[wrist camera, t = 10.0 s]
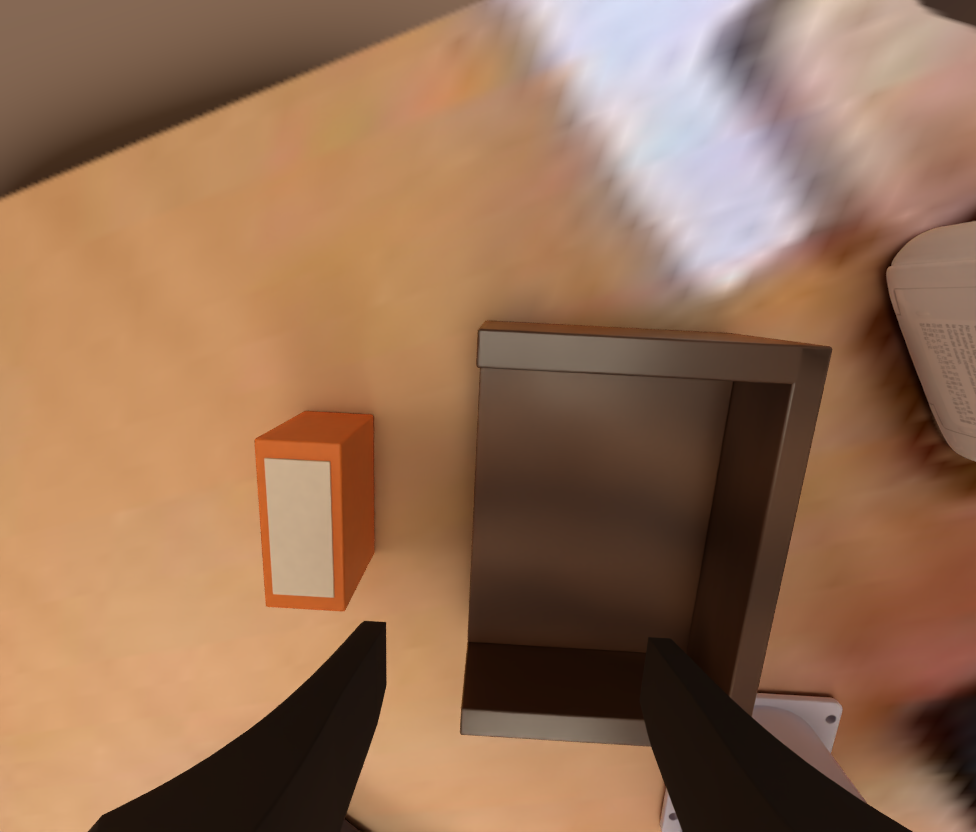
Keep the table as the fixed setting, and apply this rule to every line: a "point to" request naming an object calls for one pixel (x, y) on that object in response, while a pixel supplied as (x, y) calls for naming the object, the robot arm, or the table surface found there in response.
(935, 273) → the white piece
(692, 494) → the shelf
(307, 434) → the packet
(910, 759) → the table surface
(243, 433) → the table surface
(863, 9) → the table surface
